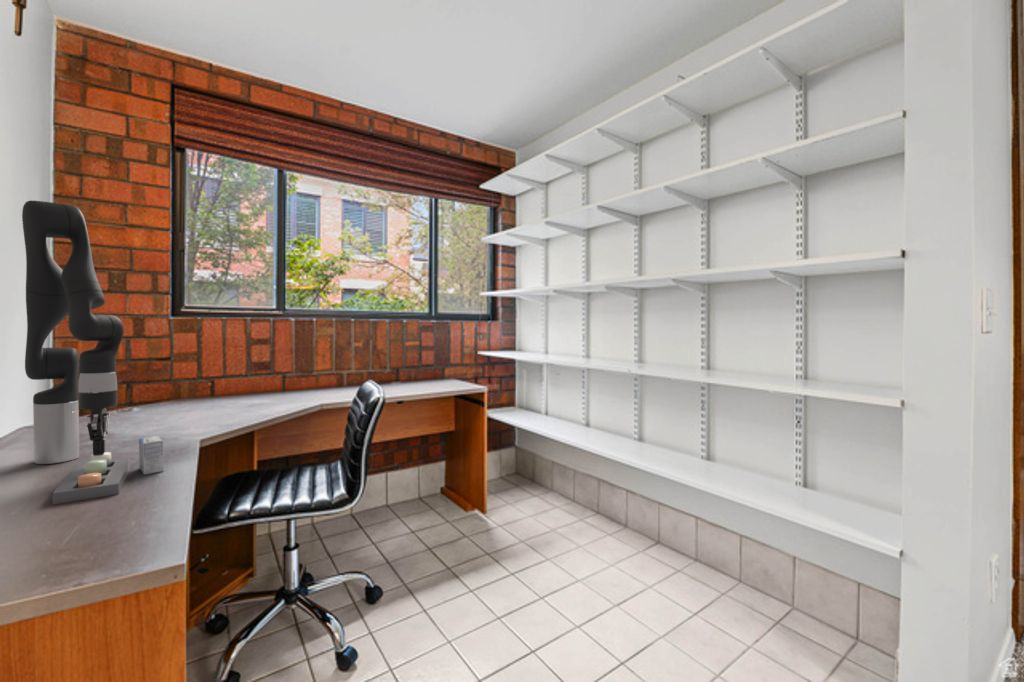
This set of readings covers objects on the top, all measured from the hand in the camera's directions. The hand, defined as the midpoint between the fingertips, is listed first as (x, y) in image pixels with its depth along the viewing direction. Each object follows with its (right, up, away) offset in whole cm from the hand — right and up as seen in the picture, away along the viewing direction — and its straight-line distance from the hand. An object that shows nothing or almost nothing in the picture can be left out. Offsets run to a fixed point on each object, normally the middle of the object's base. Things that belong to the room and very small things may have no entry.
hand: (99, 454), depth 116 cm
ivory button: (0, -3, +1) cm, 3 cm away
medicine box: (+10, -6, +5) cm, 12 cm away
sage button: (+5, -3, -6) cm, 8 cm away
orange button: (+9, -5, -12) cm, 16 cm away
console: (+5, -6, -6) cm, 9 cm away
